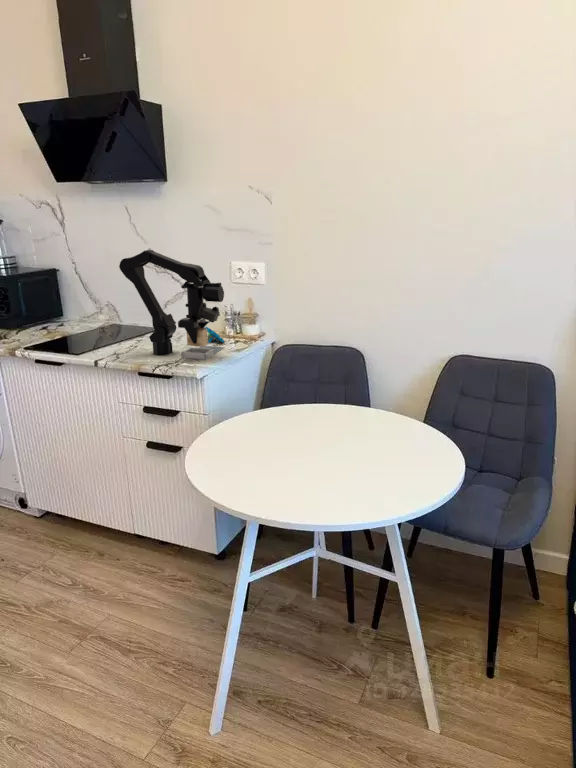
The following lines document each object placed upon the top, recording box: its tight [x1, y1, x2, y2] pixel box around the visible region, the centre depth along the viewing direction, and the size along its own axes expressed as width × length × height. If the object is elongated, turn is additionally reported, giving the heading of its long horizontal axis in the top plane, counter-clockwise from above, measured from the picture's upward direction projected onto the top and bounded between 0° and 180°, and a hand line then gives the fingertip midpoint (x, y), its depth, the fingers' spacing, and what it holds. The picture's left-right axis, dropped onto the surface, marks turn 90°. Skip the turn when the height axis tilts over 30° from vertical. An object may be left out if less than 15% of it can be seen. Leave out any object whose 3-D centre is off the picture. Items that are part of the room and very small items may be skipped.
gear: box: [205, 326, 226, 344], centre depth 229 cm, size 11×6×10 cm
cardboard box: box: [186, 328, 209, 347], centre depth 205 cm, size 6×4×6 cm, turn 74°
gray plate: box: [180, 345, 226, 361], centre depth 212 cm, size 20×10×3 cm, turn 164°
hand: (197, 342), depth 206 cm, fingers closed on cardboard box, 4 cm apart
